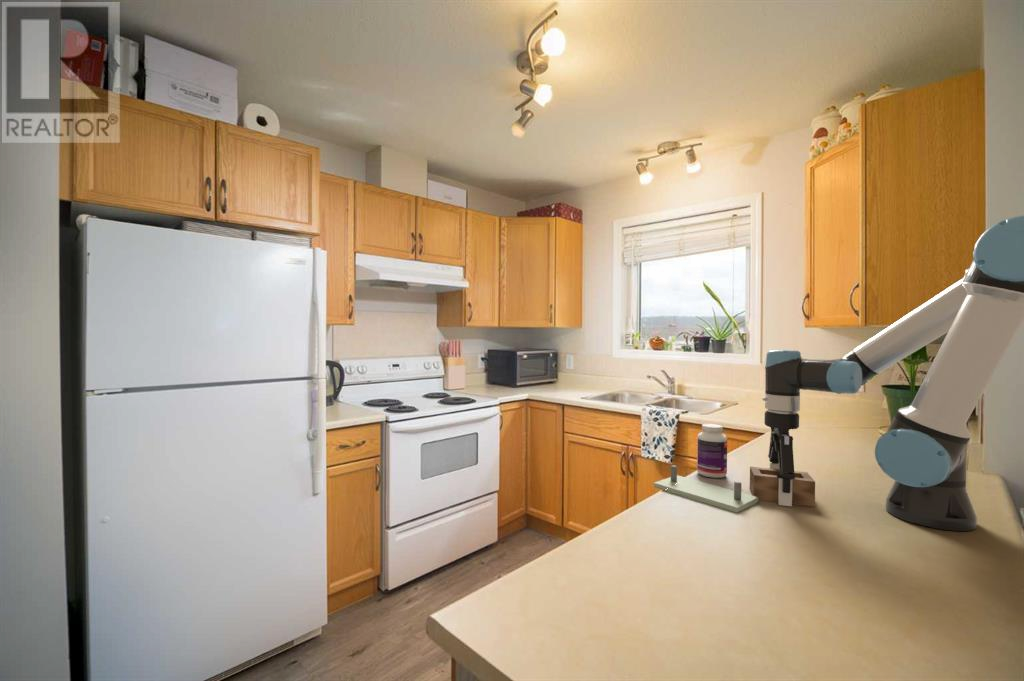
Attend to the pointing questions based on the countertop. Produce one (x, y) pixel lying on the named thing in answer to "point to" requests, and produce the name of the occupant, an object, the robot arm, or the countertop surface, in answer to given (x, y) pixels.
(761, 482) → the frame
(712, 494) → the green board with pegs
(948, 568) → the countertop surface
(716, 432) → the pill bottle
